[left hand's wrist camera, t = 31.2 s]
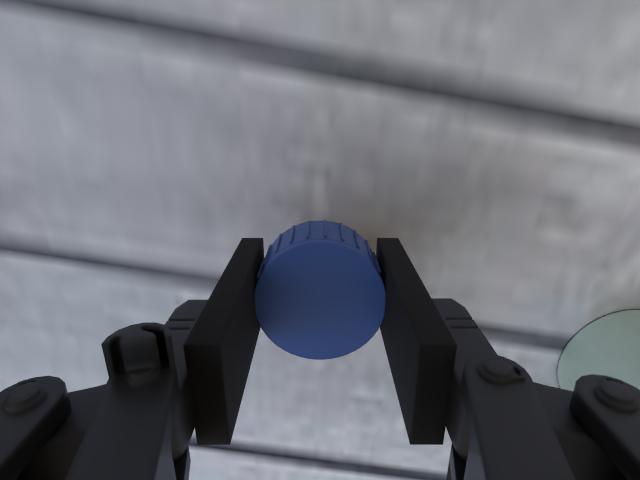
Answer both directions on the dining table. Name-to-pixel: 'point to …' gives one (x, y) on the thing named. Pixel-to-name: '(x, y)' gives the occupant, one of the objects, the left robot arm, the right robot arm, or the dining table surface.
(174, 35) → the dining table surface
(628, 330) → the bottle
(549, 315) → the dining table surface
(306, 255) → the cap
